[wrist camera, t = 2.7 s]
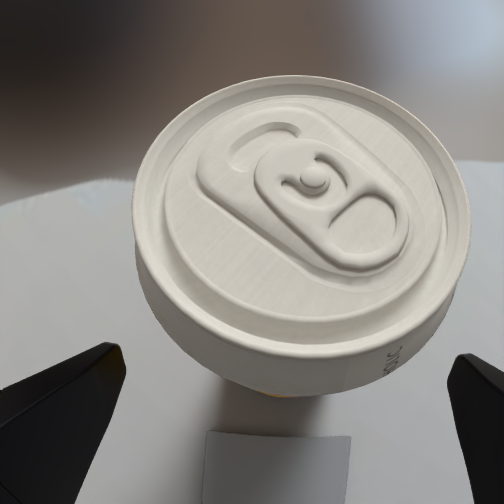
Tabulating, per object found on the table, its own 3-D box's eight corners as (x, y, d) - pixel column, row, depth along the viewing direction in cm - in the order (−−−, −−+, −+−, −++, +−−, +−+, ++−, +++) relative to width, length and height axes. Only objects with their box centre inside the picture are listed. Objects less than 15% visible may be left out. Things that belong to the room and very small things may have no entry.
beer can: (287, 278, 20) (299, 42, 6) (356, 347, 17) (528, 195, 4) (212, 341, 18) (61, 176, 5) (280, 418, 16) (298, 501, 3)
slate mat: (335, 548, 11) (336, 551, 11) (201, 542, 12) (199, 545, 12) (349, 435, 15) (351, 436, 15) (208, 430, 16) (206, 431, 15)
